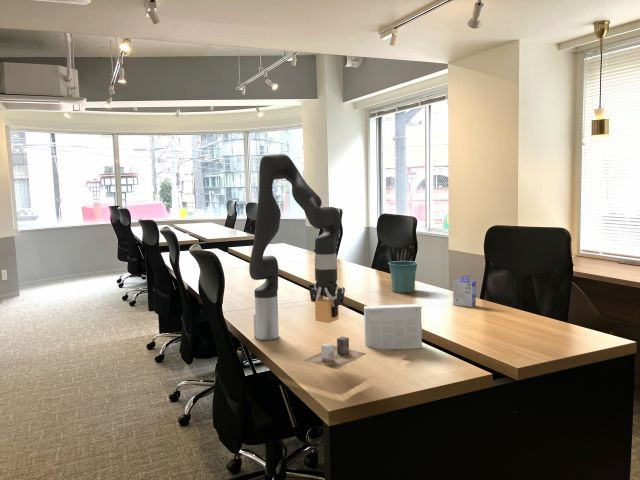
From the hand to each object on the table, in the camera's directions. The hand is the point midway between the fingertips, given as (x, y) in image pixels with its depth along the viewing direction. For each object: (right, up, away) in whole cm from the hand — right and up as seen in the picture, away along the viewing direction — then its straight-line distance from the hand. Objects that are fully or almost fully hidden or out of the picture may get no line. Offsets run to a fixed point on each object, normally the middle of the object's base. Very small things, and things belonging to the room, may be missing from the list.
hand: (327, 315), depth 172 cm
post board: (+3, -17, +6) cm, 18 cm away
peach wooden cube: (0, -2, 0) cm, 2 cm away
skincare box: (+25, -15, +19) cm, 35 cm away
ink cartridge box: (+69, -7, +79) cm, 105 cm away
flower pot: (+44, -3, +113) cm, 122 cm away
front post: (0, -16, +2) cm, 16 cm away
